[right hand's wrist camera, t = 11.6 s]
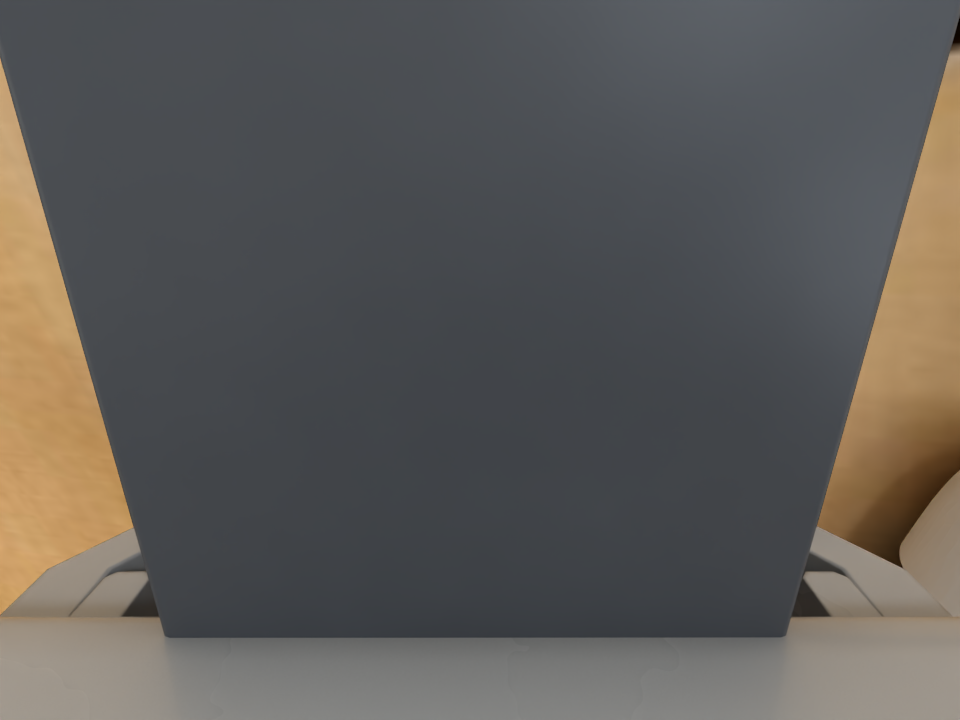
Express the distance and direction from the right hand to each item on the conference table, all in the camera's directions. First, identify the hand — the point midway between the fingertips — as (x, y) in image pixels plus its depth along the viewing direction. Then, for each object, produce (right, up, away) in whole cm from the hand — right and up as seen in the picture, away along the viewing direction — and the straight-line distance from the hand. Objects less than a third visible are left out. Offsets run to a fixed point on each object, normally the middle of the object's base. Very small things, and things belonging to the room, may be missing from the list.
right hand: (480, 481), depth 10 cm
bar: (0, +8, 0) cm, 8 cm away
